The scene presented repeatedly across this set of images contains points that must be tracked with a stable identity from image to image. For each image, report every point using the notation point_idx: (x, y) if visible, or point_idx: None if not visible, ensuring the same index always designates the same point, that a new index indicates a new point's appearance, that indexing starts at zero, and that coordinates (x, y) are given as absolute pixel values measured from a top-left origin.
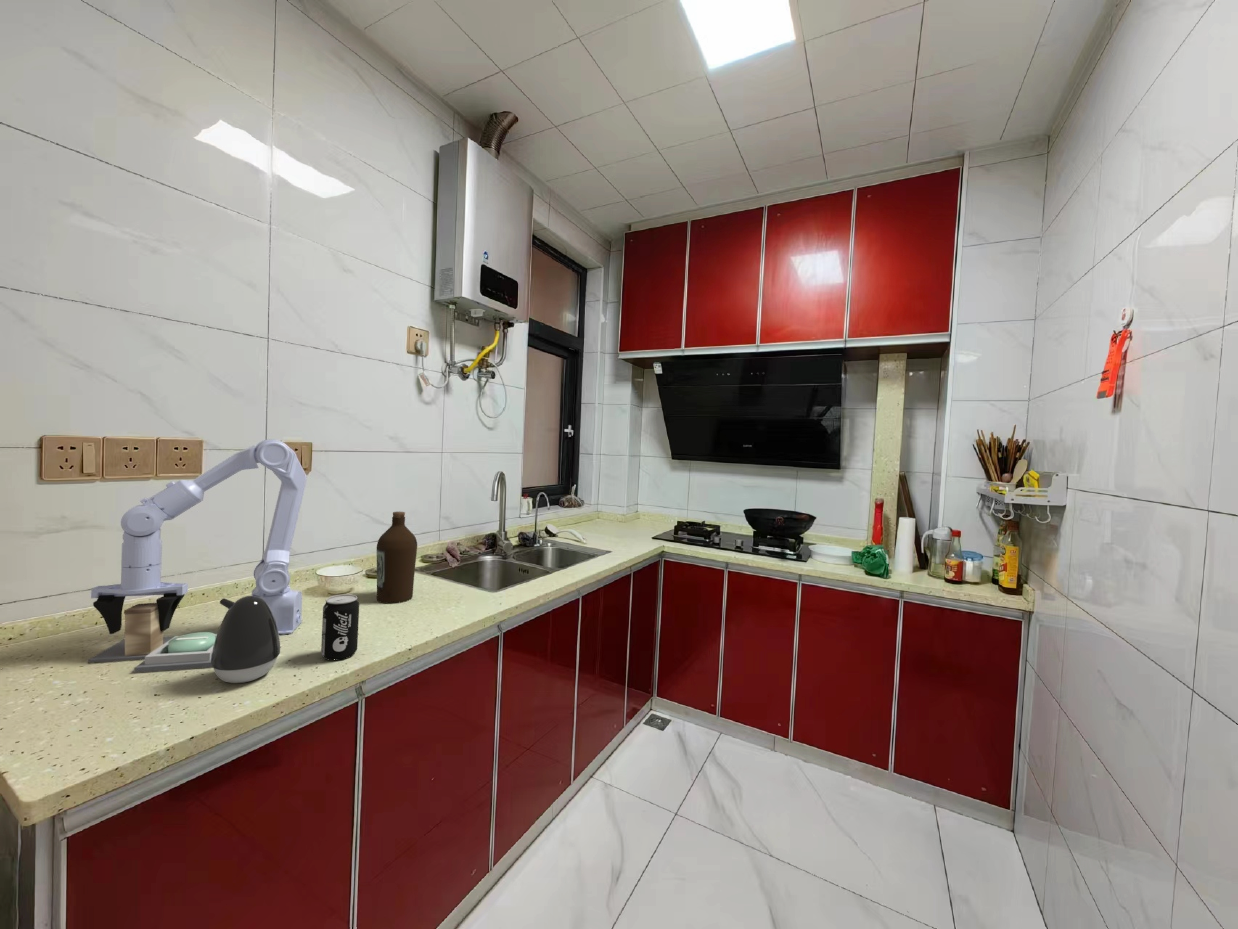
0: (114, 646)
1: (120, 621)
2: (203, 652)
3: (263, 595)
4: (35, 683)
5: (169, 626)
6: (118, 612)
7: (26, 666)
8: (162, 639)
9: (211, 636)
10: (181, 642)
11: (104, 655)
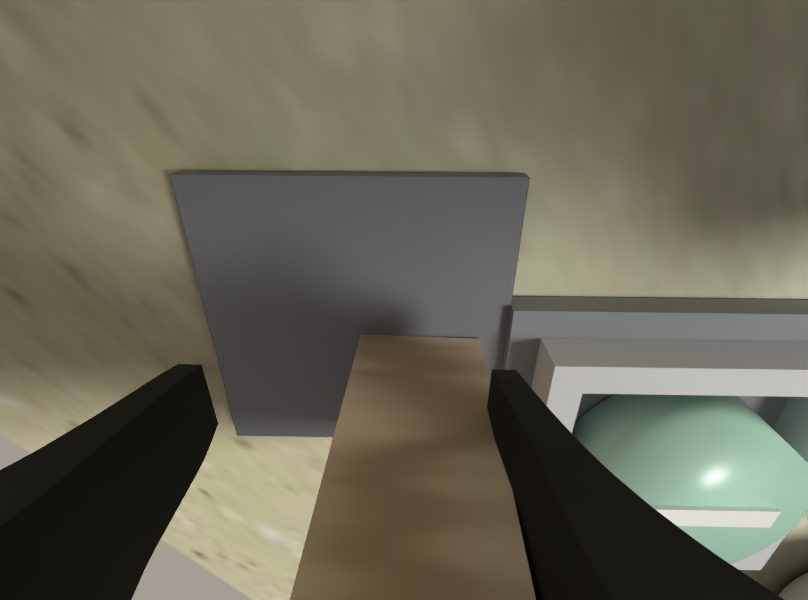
0: (217, 295)
1: (160, 412)
2: (734, 563)
3: None
4: (213, 532)
5: (522, 377)
6: (96, 512)
7: (21, 412)
8: (484, 368)
9: (792, 500)
10: None
11: (265, 400)
